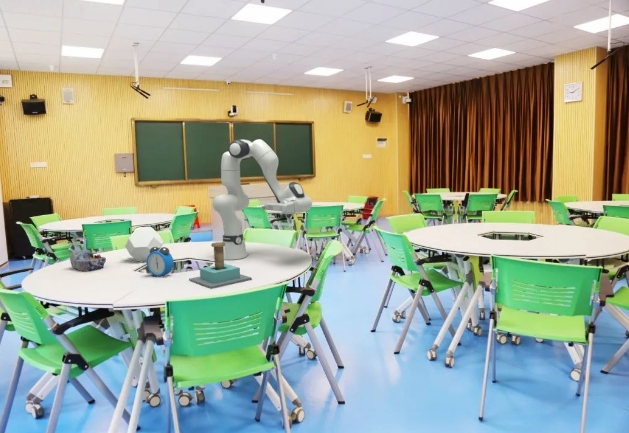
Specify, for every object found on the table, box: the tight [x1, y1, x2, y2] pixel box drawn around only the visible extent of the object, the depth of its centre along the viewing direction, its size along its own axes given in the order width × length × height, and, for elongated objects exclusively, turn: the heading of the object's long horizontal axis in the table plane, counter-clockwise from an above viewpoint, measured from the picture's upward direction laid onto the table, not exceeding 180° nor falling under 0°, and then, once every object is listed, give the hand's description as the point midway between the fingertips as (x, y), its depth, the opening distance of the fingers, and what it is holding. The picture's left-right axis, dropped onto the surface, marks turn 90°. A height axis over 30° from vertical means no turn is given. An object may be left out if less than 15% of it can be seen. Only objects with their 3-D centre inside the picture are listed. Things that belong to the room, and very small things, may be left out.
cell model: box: [69, 249, 107, 272], centre depth 257 cm, size 13×11×20 cm
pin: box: [210, 241, 225, 270], centre depth 220 cm, size 6×6×17 cm
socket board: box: [188, 263, 253, 290], centre depth 221 cm, size 22×22×6 cm
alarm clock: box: [146, 246, 175, 278], centre depth 235 cm, size 13×6×15 cm, turn 67°
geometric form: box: [124, 226, 165, 263], centre depth 276 cm, size 20×20×20 cm
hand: (267, 208), depth 243 cm, fingers open, 8 cm apart
